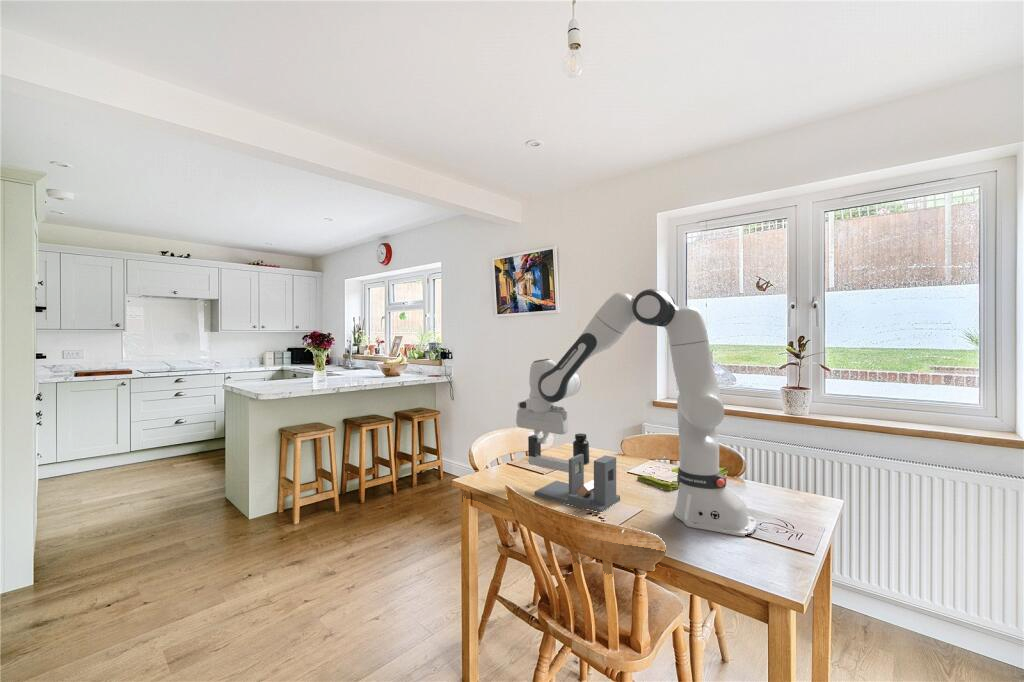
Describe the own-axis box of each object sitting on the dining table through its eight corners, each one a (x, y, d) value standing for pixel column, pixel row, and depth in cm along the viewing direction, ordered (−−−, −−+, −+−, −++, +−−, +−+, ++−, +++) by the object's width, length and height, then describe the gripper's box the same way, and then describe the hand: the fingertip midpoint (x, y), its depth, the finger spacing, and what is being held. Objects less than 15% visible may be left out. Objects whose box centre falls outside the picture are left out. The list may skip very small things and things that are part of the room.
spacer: (586, 487, 152) (591, 493, 151) (576, 492, 148) (581, 498, 147) (592, 480, 151) (597, 485, 150) (583, 484, 146) (588, 490, 145)
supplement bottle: (584, 459, 197) (583, 432, 196) (592, 463, 190) (592, 435, 190) (570, 461, 194) (570, 433, 194) (577, 465, 188) (577, 437, 187)
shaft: (579, 471, 152) (579, 442, 152) (574, 474, 150) (574, 444, 149) (534, 461, 164) (533, 434, 164) (528, 464, 161) (528, 436, 161)
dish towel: (636, 481, 169) (636, 473, 169) (694, 465, 189) (694, 458, 188) (670, 493, 156) (670, 484, 156) (729, 475, 176) (729, 467, 176)
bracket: (620, 500, 149) (620, 455, 149) (600, 513, 138) (600, 465, 138) (556, 484, 165) (556, 443, 164) (534, 495, 153) (534, 452, 153)
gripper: (571, 406, 155) (571, 446, 156) (524, 400, 168) (524, 437, 168) (562, 408, 150) (561, 449, 151) (513, 402, 163) (513, 440, 163)
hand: (541, 443), depth 160 cm, fingers closed
